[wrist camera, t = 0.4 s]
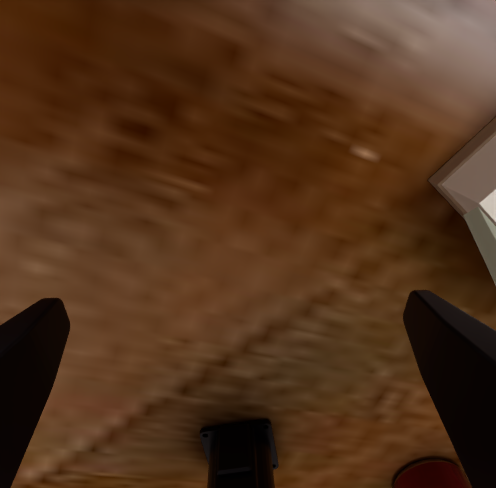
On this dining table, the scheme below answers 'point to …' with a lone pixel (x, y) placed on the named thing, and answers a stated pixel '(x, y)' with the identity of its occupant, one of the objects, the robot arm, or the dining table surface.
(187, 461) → the dining table surface
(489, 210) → the box
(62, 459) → the dining table surface
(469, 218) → the lid
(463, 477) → the soda can
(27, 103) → the dining table surface
